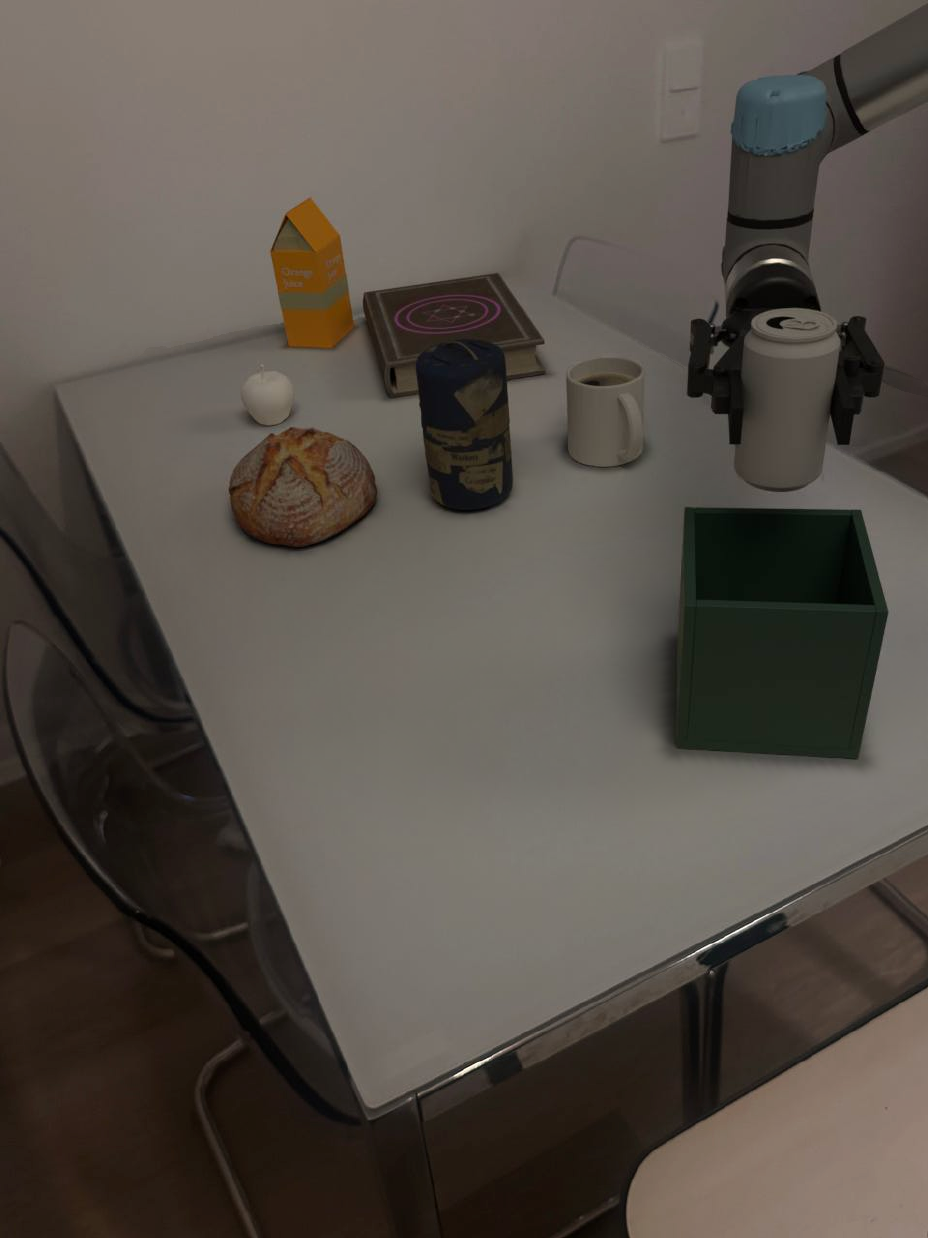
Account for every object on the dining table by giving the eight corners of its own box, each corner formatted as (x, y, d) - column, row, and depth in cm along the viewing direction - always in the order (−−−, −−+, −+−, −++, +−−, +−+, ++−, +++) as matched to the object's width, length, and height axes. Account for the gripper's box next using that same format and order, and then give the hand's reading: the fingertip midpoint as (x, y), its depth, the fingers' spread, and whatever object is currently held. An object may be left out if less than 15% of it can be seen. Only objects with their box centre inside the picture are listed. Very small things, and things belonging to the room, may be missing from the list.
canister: (449, 525, 109) (431, 368, 99) (418, 488, 116) (399, 338, 106) (528, 501, 112) (519, 346, 101) (493, 467, 119) (482, 318, 108)
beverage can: (753, 449, 79) (767, 299, 72) (833, 466, 76) (856, 311, 69) (718, 485, 75) (729, 330, 68) (802, 505, 72) (823, 344, 65)
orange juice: (355, 326, 161) (334, 195, 149) (333, 348, 154) (309, 212, 142) (311, 325, 163) (287, 196, 151) (287, 346, 156) (260, 213, 144)
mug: (575, 431, 125) (574, 354, 119) (652, 434, 122) (655, 356, 116) (558, 473, 116) (555, 393, 110) (640, 478, 114) (642, 396, 108)
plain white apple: (250, 435, 132) (237, 378, 127) (244, 414, 137) (231, 358, 132) (302, 424, 133) (291, 367, 128) (294, 404, 138) (283, 348, 134)
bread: (239, 573, 107) (211, 492, 101) (239, 485, 123) (215, 411, 117) (389, 539, 108) (370, 457, 102) (370, 456, 123) (353, 381, 117)
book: (545, 373, 139) (544, 339, 136) (387, 398, 137) (382, 364, 134) (500, 303, 164) (498, 272, 161) (365, 323, 162) (360, 292, 159)
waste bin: (837, 648, 87) (861, 509, 79) (858, 759, 77) (888, 611, 68) (677, 642, 90) (684, 506, 81) (676, 748, 79) (684, 605, 71)
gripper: (884, 346, 86) (933, 477, 68) (654, 349, 90) (644, 474, 72) (898, 257, 82) (956, 372, 64) (656, 264, 85) (646, 375, 67)
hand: (790, 426), depth 68 cm, fingers closed on beverage can, 6 cm apart
